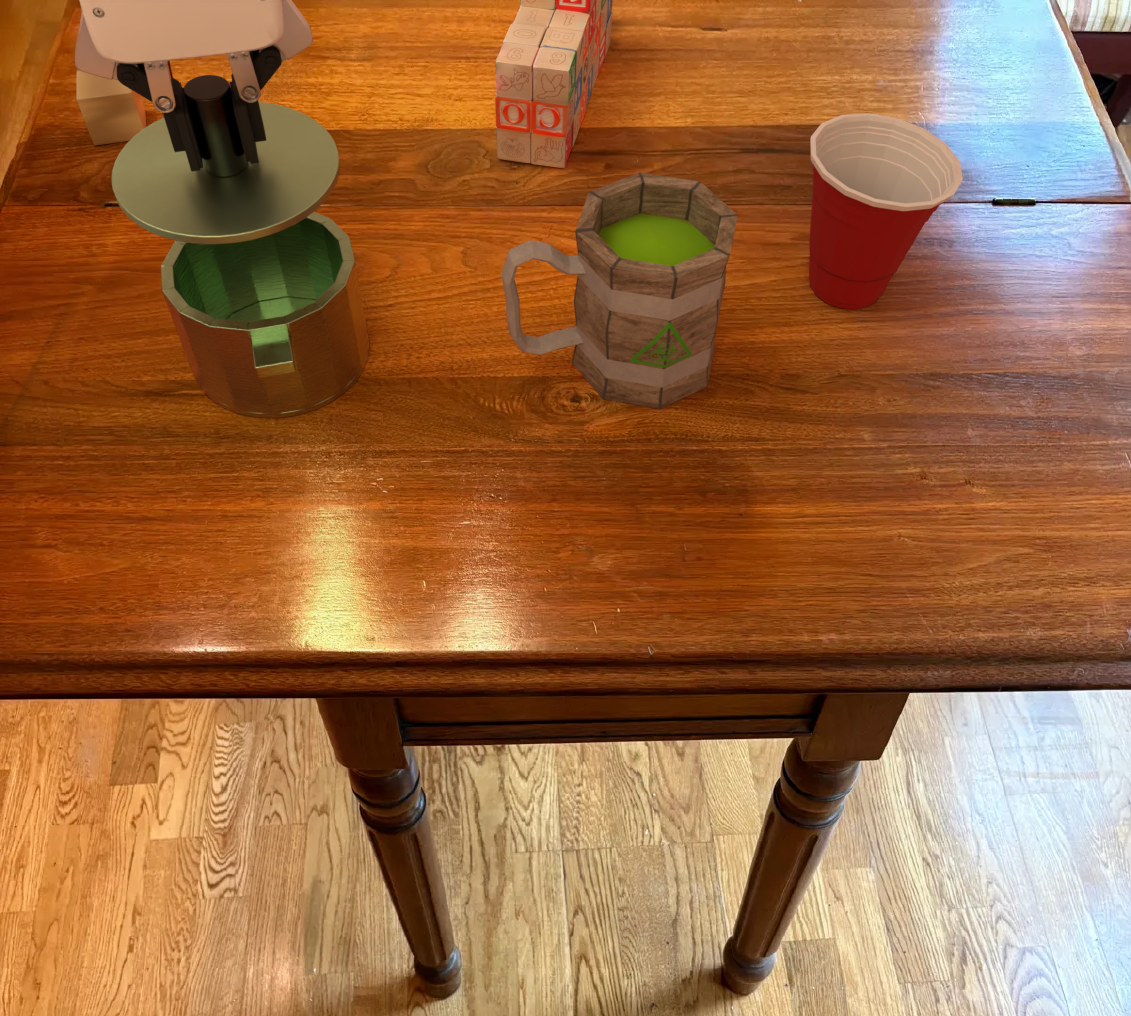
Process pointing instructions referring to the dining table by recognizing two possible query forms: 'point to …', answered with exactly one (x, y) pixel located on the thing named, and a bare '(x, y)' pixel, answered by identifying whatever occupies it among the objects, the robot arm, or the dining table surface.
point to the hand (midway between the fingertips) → (223, 151)
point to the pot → (270, 318)
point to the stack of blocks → (548, 77)
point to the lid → (225, 172)
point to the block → (109, 109)
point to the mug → (638, 288)
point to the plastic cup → (871, 202)
